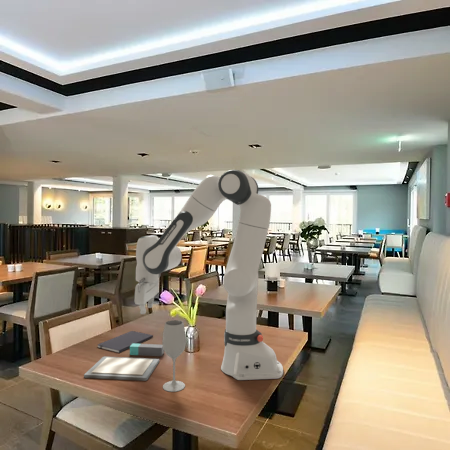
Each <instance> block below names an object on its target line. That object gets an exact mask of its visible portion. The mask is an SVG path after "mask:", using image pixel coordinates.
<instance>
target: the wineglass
mask: <svg viewBox="0 0 450 450" xmlns="http://www.w3.org/2000/svg"><path fill="white" fill-rule="evenodd" d="M162 333H163V334H162V341H161V345H163V350H164V354H166V355H167V356H168V357H169V358H171V359H172V380H170V381H167V382H165V383H164V384H163V385H162V389H163V390H164V391H165V392H169V393H175V392H180V391H182V390H184V389H185V388H186V384H185V383H184V382H183V381H180V380H176V360H177V358H179V356H181V355H182V354H183V352H184V351H185V349H186V345H187V337H186V328H185V324H184V321H183V320H180V319H179V320H176V319H175V320H174V319H171V320H167V321H165V323H164V327H163V332H162Z"/></svg>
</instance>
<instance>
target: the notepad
mask: <svg viewBox="0 0 450 450" xmlns="http://www.w3.org/2000/svg"><path fill="white" fill-rule="evenodd" d="M159 363H160V358H147V357H146V358H144V357H127V356H126V357H125V356H124V357H122V356H119V357H118V356H102V357H101V358H100V359H99V360H98V361H96V363H95V364H94V365H93V366H92V367H90V368H89V369H88V370H87V371H86V372H85V373H84V374H83V378H85V379H87V378H88V379H104V380H105V379H107V380H124V381H125V380H128V381H145V382H146V381H148V380H149V379H150V377H151V375H152V373H153V372H154V371H155V369H156V367H157V366H158V365H159Z"/></svg>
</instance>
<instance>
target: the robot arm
mask: <svg viewBox="0 0 450 450" xmlns="http://www.w3.org/2000/svg"><path fill="white" fill-rule="evenodd" d="M257 182H258V181H256V179H255V178H254V177H252V176H250V174H248V173H246V172H245V171H241V170H238V169H230V170H227V171H225V172H224V173H222V174H221V176H219V175H216V174H209V175H206V176H205V177H204V178H203V180H202V181H200V183H199V184H198V185H197V186H196V188H195V189H194V190H193V191H192V193H191V195H190V196H189V198H188V199H187V201H186V202H185V204H184V205H183V207H182V208H181V210H180V211H179V212H178V213H177V215H176V216H175V218H174V219H173V220H172V221H171V223H170V224H169V226H168V227H167V228H166V229H165V231H164V232H163V233H162V234H161V235H160V238H159V237H158V236H157V235H154V234H153V235H145V236H141V237H139V238H138V240H137V242H136V249H135V259H136V267H135V282H138V283H137V284H136V285H135V288H134V303H135V305H138V306H139V307H138V308H139V313H140V315H145V314H146V313H147V309H146V304H147V308H148V309H151V308H153V306H154V300H155V297H156V295H157V294H158V292H159V288H160V287H159V285H160V283H159V282H160V277H161V274H162V273H163V272H166V271H168V270H171V269H174V268H176V267H177V266H179V265H181V262H182V260H183V256H182V251H181V249H180V248H179V247H178V246H177V245H178V244H179V242H180V241H181V240H182V239H183V237H184V236H185V235H186V234H188V233H189V232H191V231H192V230H194V229H196V228H198V227H201V226H204V225H205V224H207V223H208V221H209V220H210V219H211V218H212V217H213V216H214V214H215V213H216V211H217V210H218V208H219V207H220V205H221V204H222V203H223V202H224V201H225V200H228V201H230V202H232V203H233V204H235V205H237V206H239V208H240V209H239V210H240V212H239V216H238V217H239V219H238V222H237V226H236V230H235V235H234V240H233V244H232V247H231V249H230V250H231V251H230V255H229V257H228V260H227V264H226V267H225V272H224V273H223V274H224V275H223V279H222V280H223V281H222V283H223V288H224V290H225V291H226V292H227V299H226V308H225V329H224V332H223V333H224V334H223V338H224V339H223V342H224V343H223V344H224V353H223V359H222V362H221V366H220V370H221V371H222V372H223V374H226V375H228V376H231V377H233V378H234V379H235V380H237V381H248V380H249V381H251V380H273V379H280V378H283V375H284V368H283V367H284V366H283V364H282V363H281V362H280V361H279V360H278V357H277V355H276V352H275V350H274V349H273V348H272V347H270V346H269V345H268V344H266V343H265V342H264V341H263V340H264V337H263V334H262V332H261V330H260V329H259V330H258V329H257V307H258V306H257V305H258V293H259V292H258V291H259V268H260V264H261V260H262V256H263V253H264V251H265V245H266V241H267V236H268V233H269V228H270V224H271V223H270V221H271V217H272V216H271V212H272V203H271V201H270V200H269V198H267V197H266V196H264V195H262V194H259V185H258V183H257ZM147 302H148V303H147Z"/></svg>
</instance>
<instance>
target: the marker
mask: <svg viewBox="0 0 450 450" xmlns="http://www.w3.org/2000/svg"><path fill="white" fill-rule="evenodd" d="M164 354H165V351H164V350H163V345H162V344H155V343H154V344H153V343H140V344H135V343H133V344H132V345H131V346H130V348H129V356H147V357H163V355H164Z"/></svg>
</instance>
